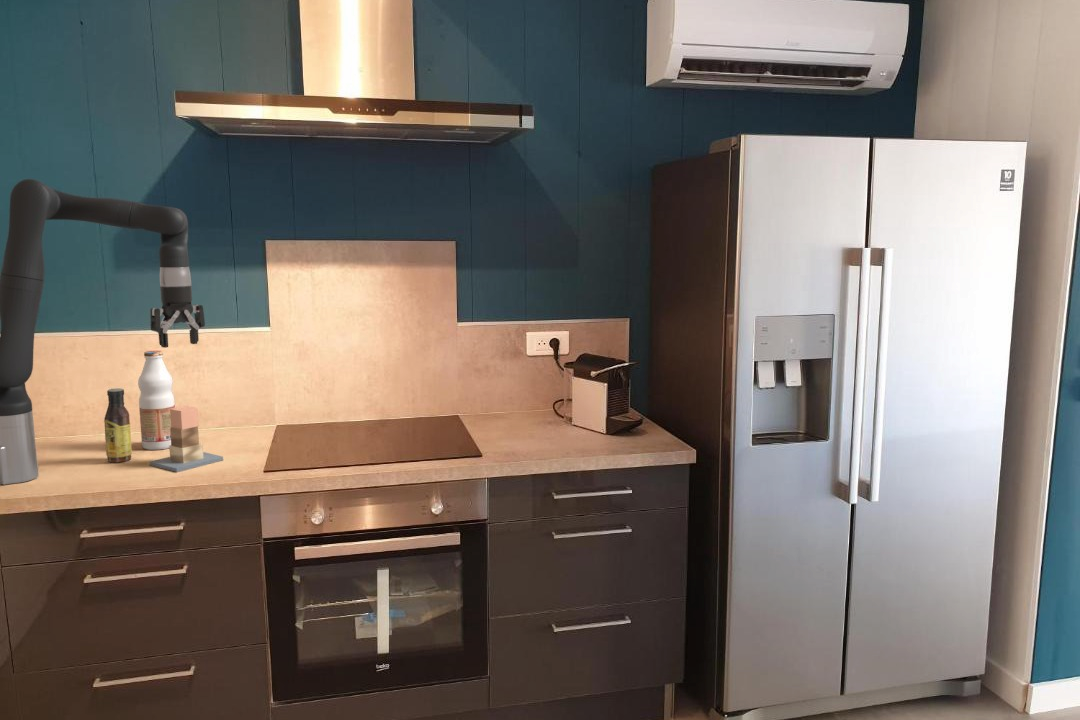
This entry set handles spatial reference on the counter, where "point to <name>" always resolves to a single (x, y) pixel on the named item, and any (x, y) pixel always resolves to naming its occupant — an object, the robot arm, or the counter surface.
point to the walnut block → (184, 437)
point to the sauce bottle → (117, 428)
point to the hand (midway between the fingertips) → (179, 345)
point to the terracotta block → (184, 417)
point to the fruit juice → (155, 402)
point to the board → (179, 466)
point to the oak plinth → (186, 453)
